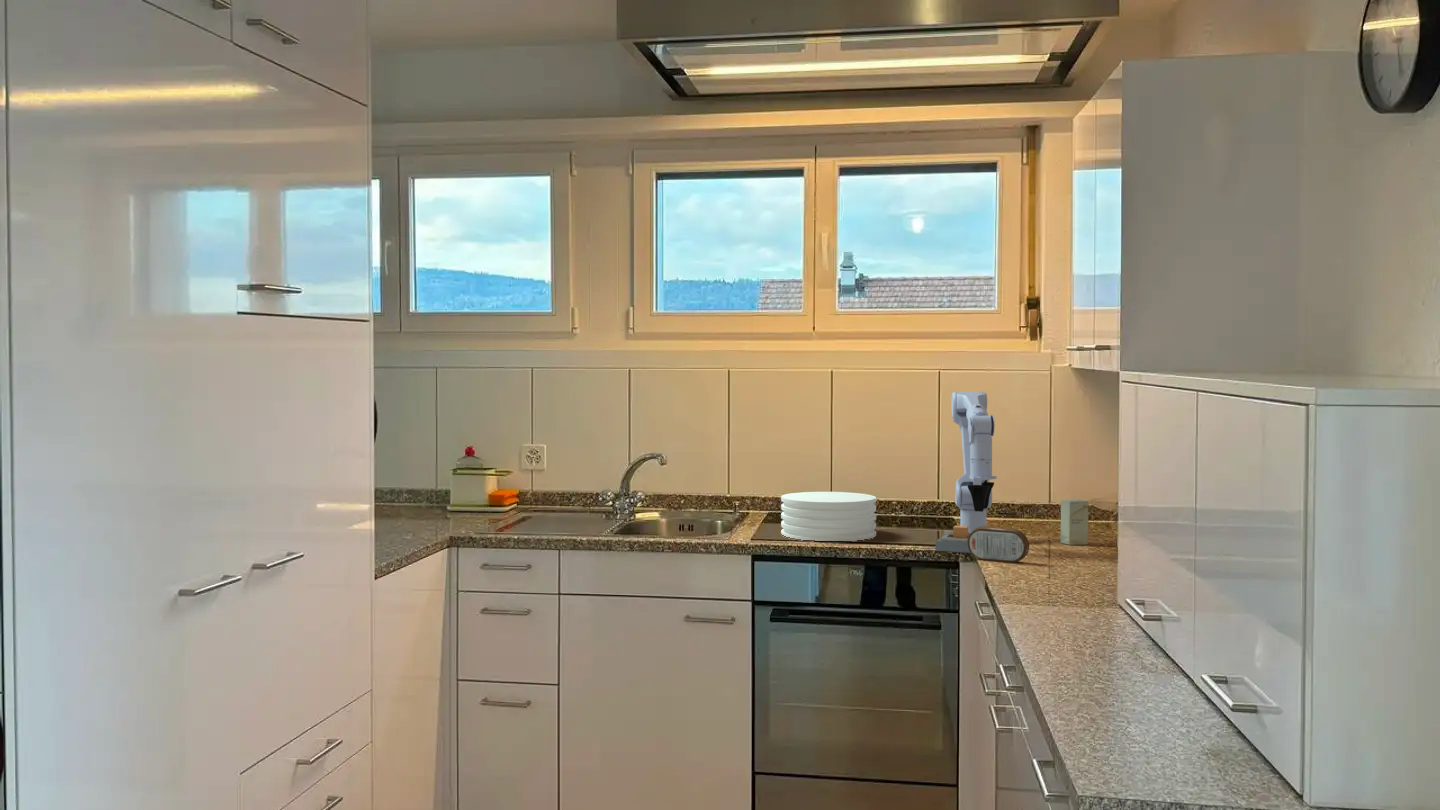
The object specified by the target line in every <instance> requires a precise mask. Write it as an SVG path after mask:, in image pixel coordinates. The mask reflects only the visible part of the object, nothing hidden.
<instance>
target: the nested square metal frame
mask: <svg viewBox="0 0 1440 810" xmlns="http://www.w3.org/2000/svg"><path fill="white" fill-rule="evenodd" d="M970 533H971V532H968V537H969V535H970ZM967 540H968V538H953V530H947V529H946V530H944V531H943V535H942V536H940V537H939V538H938V539H937V540H936V541H935V552H948V553H964V554H971V553H970V551H969V549H968V545H967Z"/></svg>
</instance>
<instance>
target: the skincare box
mask: <svg viewBox="0 0 1440 810" xmlns="http://www.w3.org/2000/svg"><path fill="white" fill-rule="evenodd" d="M1089 503H1090V502H1089V500H1083V499H1061V500H1060V543H1061V544H1063V545H1070V546H1072V545H1073V546H1076V545H1077V546H1078V545H1089Z"/></svg>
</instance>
